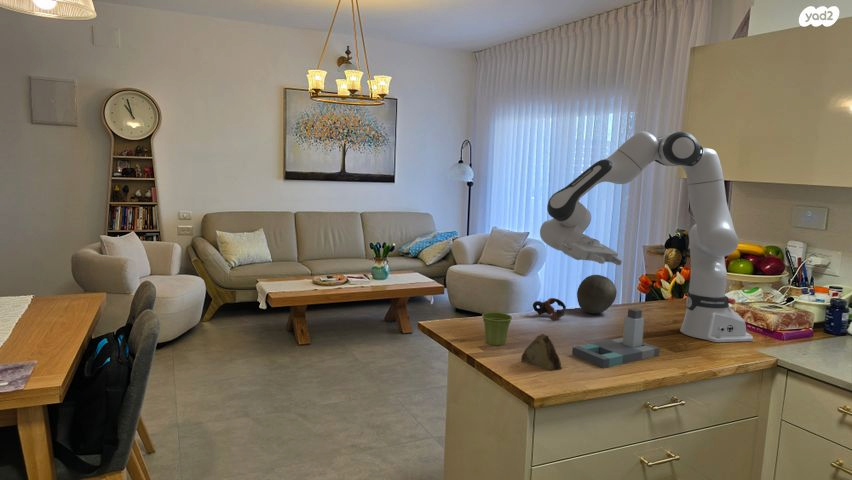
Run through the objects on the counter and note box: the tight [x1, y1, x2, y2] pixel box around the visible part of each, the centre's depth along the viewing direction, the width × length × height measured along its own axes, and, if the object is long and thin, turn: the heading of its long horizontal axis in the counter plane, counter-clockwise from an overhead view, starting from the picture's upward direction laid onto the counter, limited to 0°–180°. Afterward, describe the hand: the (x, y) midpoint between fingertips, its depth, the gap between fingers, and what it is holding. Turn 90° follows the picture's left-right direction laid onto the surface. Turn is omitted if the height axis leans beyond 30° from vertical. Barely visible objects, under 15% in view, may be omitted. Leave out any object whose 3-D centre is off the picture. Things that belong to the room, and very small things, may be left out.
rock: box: [520, 333, 563, 371], centre depth 159 cm, size 11×9×10 cm
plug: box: [622, 307, 645, 348], centre depth 172 cm, size 4×4×13 cm
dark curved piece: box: [532, 297, 567, 321], centre depth 210 cm, size 12×10×8 cm
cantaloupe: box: [576, 274, 618, 315], centre depth 217 cm, size 14×14×15 cm
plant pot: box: [481, 311, 513, 346], centre depth 177 cm, size 9×9×9 cm
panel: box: [572, 337, 660, 369], centre depth 170 cm, size 24×12×2 cm, turn 121°
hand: (611, 262), depth 181 cm, fingers open, 8 cm apart
